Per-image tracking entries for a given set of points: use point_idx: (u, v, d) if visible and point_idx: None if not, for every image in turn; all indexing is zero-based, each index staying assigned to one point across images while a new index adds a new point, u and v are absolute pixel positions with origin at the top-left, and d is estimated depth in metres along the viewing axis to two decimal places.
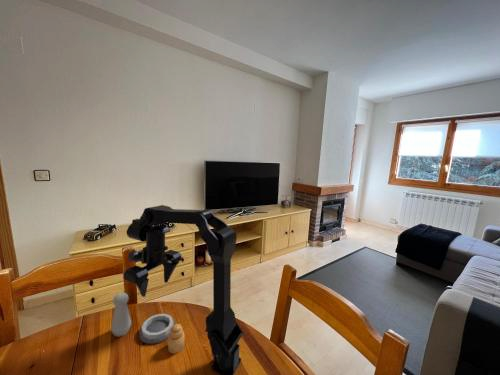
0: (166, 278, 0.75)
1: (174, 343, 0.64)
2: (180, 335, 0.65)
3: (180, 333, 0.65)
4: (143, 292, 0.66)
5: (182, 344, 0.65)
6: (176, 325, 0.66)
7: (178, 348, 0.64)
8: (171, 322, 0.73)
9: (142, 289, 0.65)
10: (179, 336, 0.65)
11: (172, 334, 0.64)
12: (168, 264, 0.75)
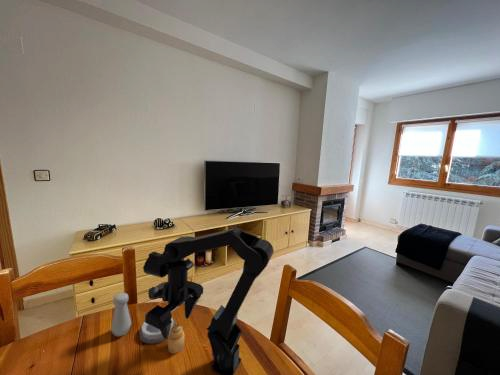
0: (187, 314, 0.69)
1: (174, 343, 0.64)
2: (180, 335, 0.65)
3: (180, 333, 0.65)
4: (165, 334, 0.60)
5: (182, 344, 0.65)
6: (176, 325, 0.66)
7: (178, 348, 0.64)
8: None
9: (164, 331, 0.60)
10: (179, 336, 0.65)
11: (172, 334, 0.64)
12: (189, 299, 0.69)
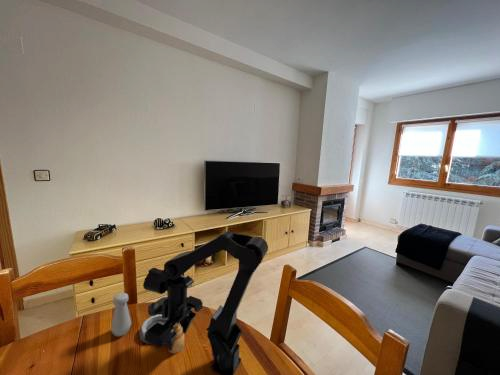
0: None
1: (174, 343, 0.64)
2: (180, 335, 0.65)
3: (180, 333, 0.65)
4: (170, 346, 0.63)
5: (182, 344, 0.65)
6: (176, 325, 0.66)
7: (178, 348, 0.64)
8: None
9: (169, 343, 0.62)
10: (179, 336, 0.65)
11: None
12: (185, 318, 0.68)
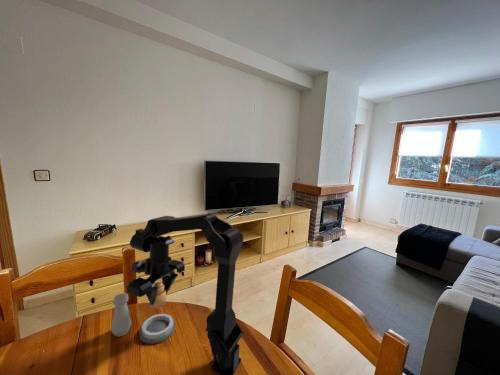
0: None
1: (155, 298, 0.68)
2: (162, 291, 0.70)
3: (162, 289, 0.69)
4: (152, 300, 0.67)
5: (163, 300, 0.70)
6: (158, 282, 0.71)
7: (159, 303, 0.69)
8: (171, 322, 0.73)
9: (151, 297, 0.67)
10: (161, 292, 0.69)
11: None
12: (167, 277, 0.73)
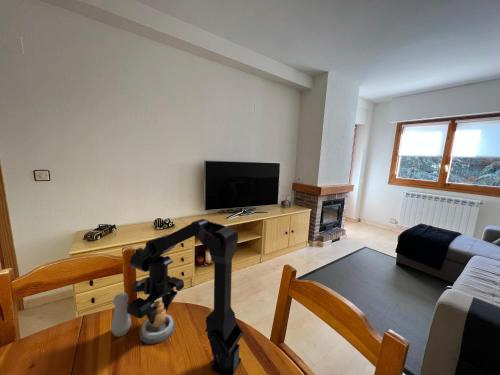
0: None
1: (155, 317, 0.69)
2: (161, 310, 0.70)
3: (161, 308, 0.70)
4: (151, 320, 0.68)
5: (163, 319, 0.71)
6: (158, 301, 0.72)
7: (159, 322, 0.70)
8: (171, 322, 0.73)
9: (150, 317, 0.68)
10: (160, 311, 0.70)
11: None
12: (166, 295, 0.74)
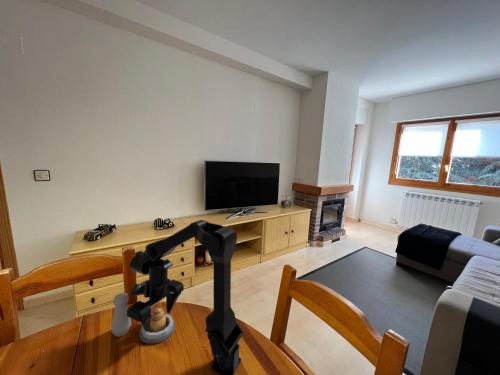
0: (168, 309, 0.76)
1: (155, 324, 0.69)
2: (161, 317, 0.71)
3: (161, 315, 0.71)
4: (146, 327, 0.66)
5: (163, 325, 0.71)
6: (158, 307, 0.72)
7: (159, 329, 0.70)
8: (171, 322, 0.73)
9: (145, 324, 0.66)
10: (160, 317, 0.70)
11: (153, 315, 0.70)
12: (170, 295, 0.76)
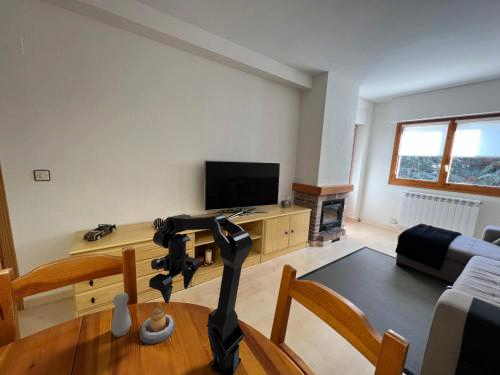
0: (186, 284, 0.77)
1: (155, 324, 0.69)
2: (161, 317, 0.71)
3: (161, 315, 0.71)
4: (167, 299, 0.68)
5: (163, 325, 0.71)
6: (158, 307, 0.72)
7: (159, 329, 0.70)
8: (171, 322, 0.73)
9: (166, 296, 0.67)
10: (160, 317, 0.70)
11: (153, 315, 0.70)
12: (188, 271, 0.77)
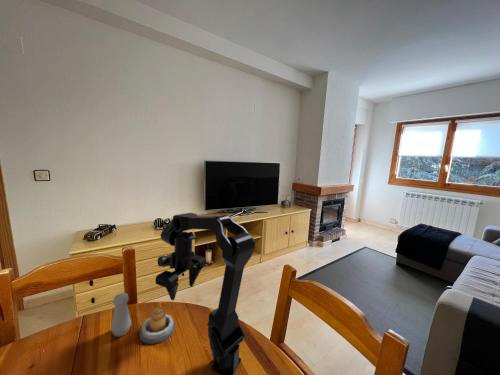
0: (191, 282, 0.78)
1: (155, 324, 0.69)
2: (161, 317, 0.71)
3: (161, 315, 0.71)
4: (173, 296, 0.69)
5: (163, 325, 0.71)
6: (158, 307, 0.72)
7: (159, 329, 0.70)
8: (171, 322, 0.73)
9: (172, 293, 0.68)
10: (160, 317, 0.70)
11: (153, 315, 0.70)
12: (193, 268, 0.78)
